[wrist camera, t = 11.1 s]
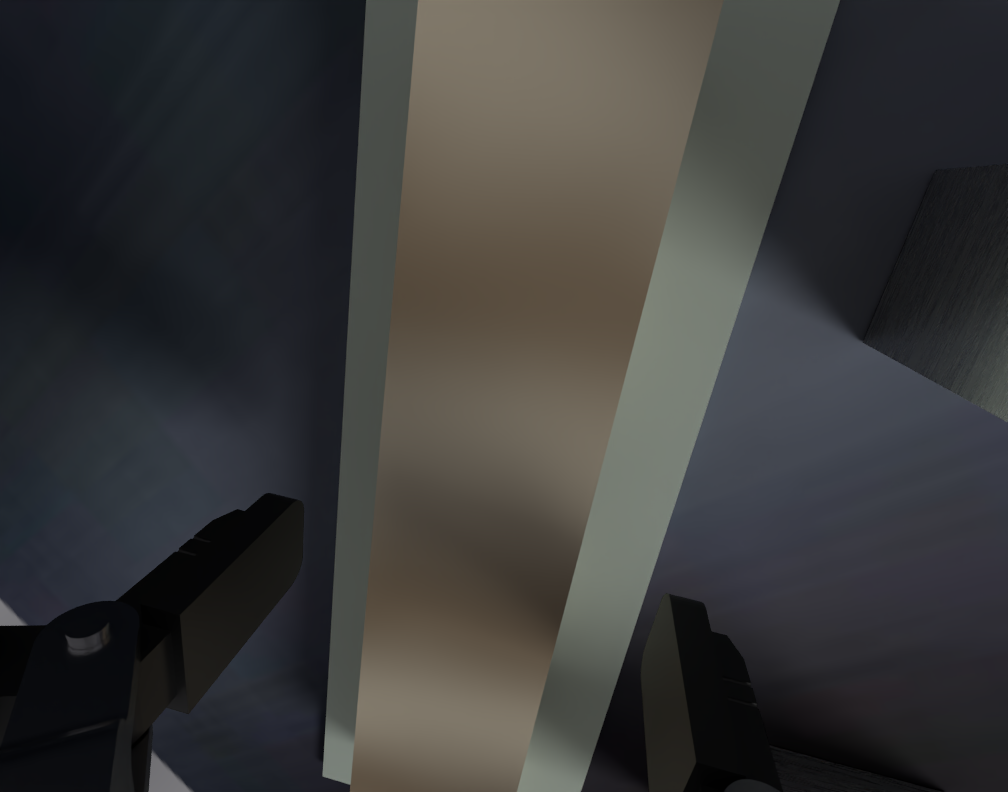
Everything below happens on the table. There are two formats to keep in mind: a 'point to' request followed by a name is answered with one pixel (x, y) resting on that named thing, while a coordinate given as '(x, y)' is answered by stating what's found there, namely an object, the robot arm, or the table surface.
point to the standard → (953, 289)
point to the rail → (508, 357)
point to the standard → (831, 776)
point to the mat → (650, 374)
